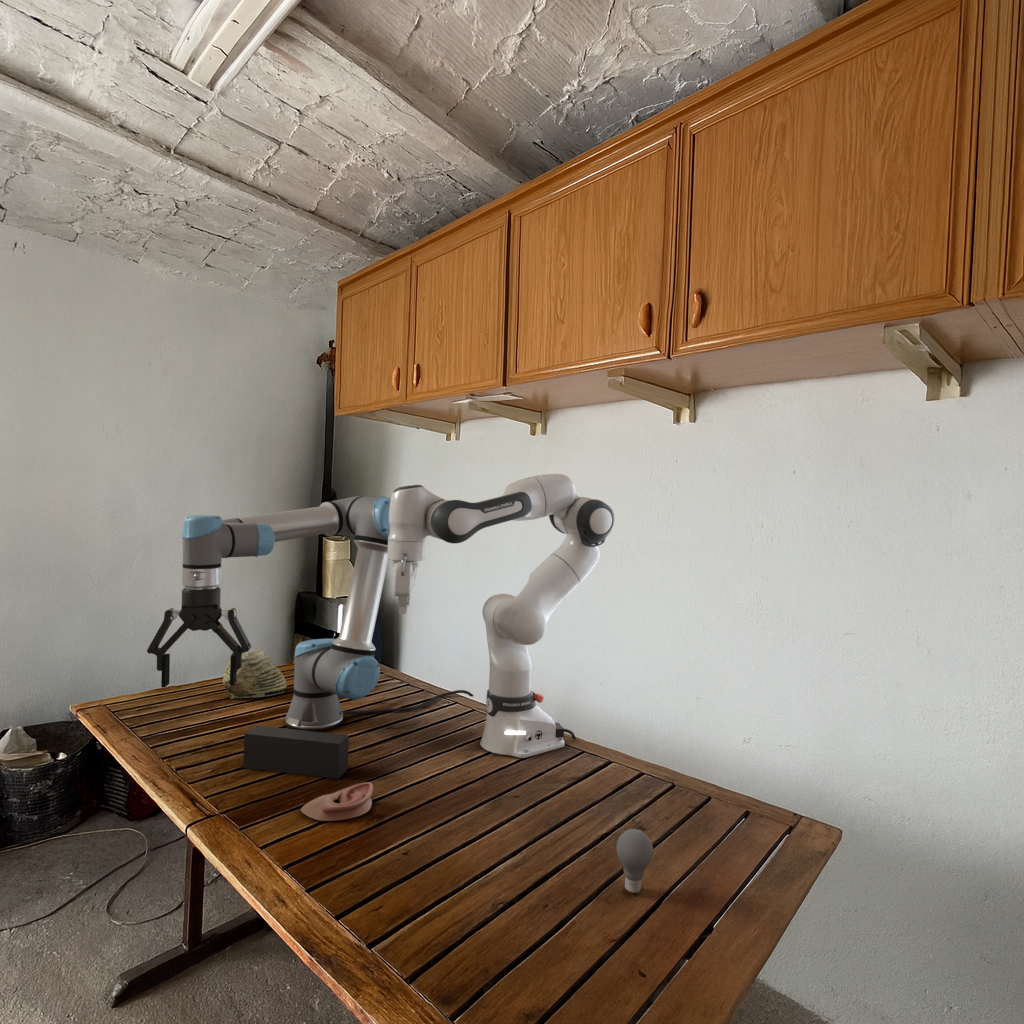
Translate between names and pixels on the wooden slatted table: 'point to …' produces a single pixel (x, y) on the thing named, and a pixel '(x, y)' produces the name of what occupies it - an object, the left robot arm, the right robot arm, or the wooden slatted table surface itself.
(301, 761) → the bar
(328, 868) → the wooden slatted table surface
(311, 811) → the anatomical model
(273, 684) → the fossil
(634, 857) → the light bulb
